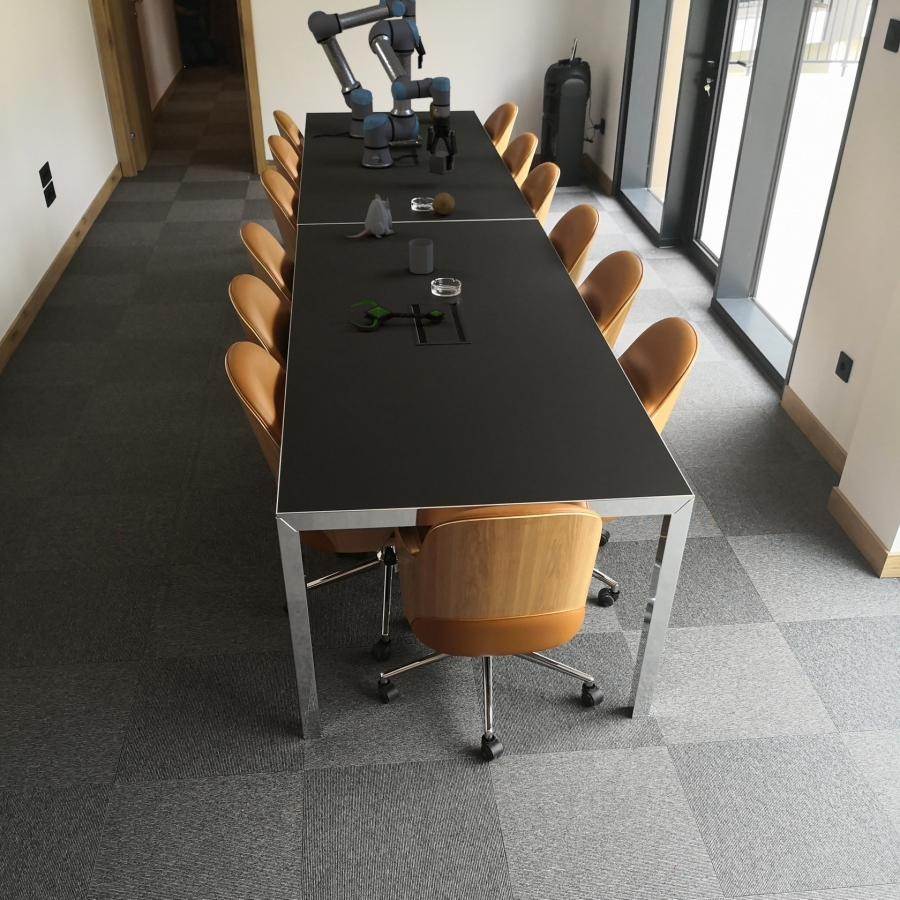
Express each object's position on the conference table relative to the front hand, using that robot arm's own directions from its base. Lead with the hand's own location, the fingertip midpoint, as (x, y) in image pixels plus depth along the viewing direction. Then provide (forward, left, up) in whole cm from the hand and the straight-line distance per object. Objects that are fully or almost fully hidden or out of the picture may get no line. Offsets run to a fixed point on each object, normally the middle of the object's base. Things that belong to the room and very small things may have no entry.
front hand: (441, 168), depth 392 cm
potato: (+33, +24, -8) cm, 41 cm away
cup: (+90, +54, -8) cm, 106 cm away
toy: (+74, +17, -8) cm, 77 cm away
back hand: (-89, -84, +24) cm, 124 cm away
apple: (-106, -76, -8) cm, 130 cm away
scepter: (+131, +74, -8) cm, 151 cm away
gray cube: (0, 0, -2) cm, 2 cm away
